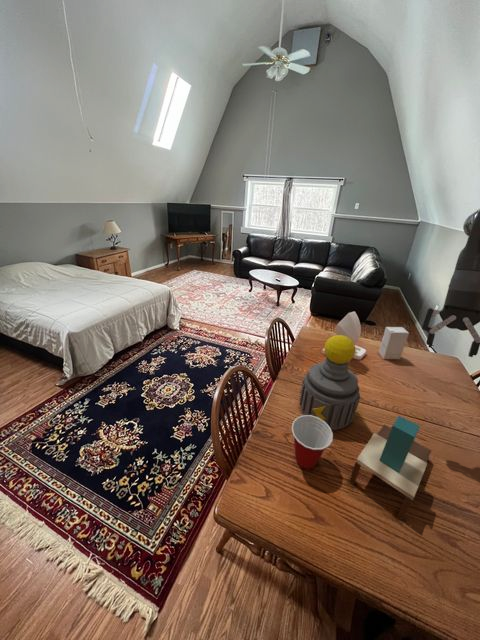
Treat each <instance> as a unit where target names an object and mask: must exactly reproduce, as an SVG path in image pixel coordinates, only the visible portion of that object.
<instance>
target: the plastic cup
mask: <svg viewBox="0 0 480 640" xmlns="http://www.w3.org/2000/svg"><path fill="white" fill-rule="evenodd" d="M291 431H292V432H291V433H292V435H293V440H294V441H293V443H294V446H293V447H294V457H295V461H296V463H297V465H298V466H300V467H301V468H304V469H306V470H311V469H313V468H314V467H315V466H316V465H317V463H318V462H319V460H320V459H321V457H322V455H323V453H324V452H325V449H326V448H329V446H330V445H331V444H332V442H333V438H334V434H333V430H331V428H330V427H329V426H328V424H327V423H326V422H325V421H323V420H322V419H320V418H318V417H315V416H312V415H303V414H302V415H300V416H298V417H296V418H295V419H294V420H293V421H292V424H291Z"/></svg>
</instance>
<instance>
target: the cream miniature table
mask: <svg viewBox="0 0 480 640" xmlns="http://www.w3.org/2000/svg"><path fill="white" fill-rule="evenodd" d="M391 429H392V427H389V426H388V425H386V424H383V425H382V427H381V429H379V432H378V433H375V432H374V433H373V434H372V436H371V437H370V438H369V440H368V441H367V443H366V444H365V446H364V447H363V449H362V450H361V452H360V453H359V454H358V456H357V458H356V459H355V463H354V465H353V469H352V472H351V476H350V478H349V483H350V484H351V485H353V486H354V485H355V484H356V481H357V478H358V475H359V473H360V470H361V467H362V468H364V469H366V470H367V471H368V472H370V473H371V474H373V475H374V476H376V477H377V478H379V479H380V480H381V481H383V482H385V483H386V484H387V485H388V486H391V487H392V488H394V489H395V490H397V491H398V492H399V493H401V494H403V495H404V496H405V498H404V500H403V503H402V504H401V507H400V508H399V511H398V513H397V515H396V518H397V519H399V520H401V521H403V520H404V519H405V516H406V514H407V512H408V510H409V509H410V506H411V505H412V502H413V500H414V499H415V496H416V494H417V492H418V489H419V486H420V483H421V481H422V478H423V476H424V474H425V472H426V468H427V466H428V460H429V457H430V454H431V453H432V450H431V449H430V448H428V447H426V446H424V445H422V444H420V443H419V442H417V441H416V440H414V441H413V444H412V446H411V448H410V450H409V453H408V455H407V457H406V459H405V462H404V464H403V466H402V468H401V470H400V472H399V473H398V472H397V471H395V470H393V469H392V468H390V467H389V466H387V465H386V464H384V463H382V462H381V461H379V460H380V457H381V455H382V452H383V449H384V447H385V444H386V442H387V439H388V436H389V434H390V431H391Z"/></svg>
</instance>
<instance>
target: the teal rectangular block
mask: <svg viewBox="0 0 480 640" xmlns="http://www.w3.org/2000/svg"><path fill="white" fill-rule="evenodd" d="M420 427H421V426H420V425H418V424H416V423H415V422H413V421H411V420H409V419H407V418H404V417H403V416H401V415H398V416H397V418H396V419H395V421H394V422H393V424H392V426H391V431H390V434H389V436H388V439H387V442H386V444H385V447H384V449H383V452H382V455H381V457H380V460H379V461H381V462H382V463H384V464H386V465H387V466H389V467H390V468H392V469H393V470H395V471H397V472H398V473H399V472H400V470H401V468H402V466H403V464H404V462H405V459H406V457H407V455H408V453H409V450H410V448H411V446H412V444H413V441H415V440H416V437H417V435H418V432H419V431H420Z"/></svg>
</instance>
